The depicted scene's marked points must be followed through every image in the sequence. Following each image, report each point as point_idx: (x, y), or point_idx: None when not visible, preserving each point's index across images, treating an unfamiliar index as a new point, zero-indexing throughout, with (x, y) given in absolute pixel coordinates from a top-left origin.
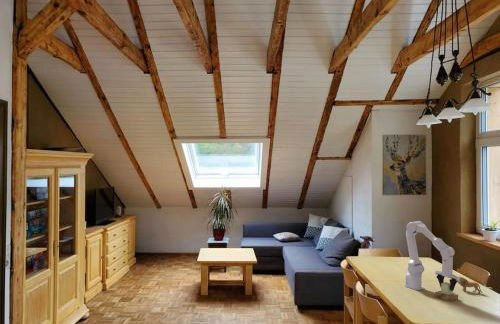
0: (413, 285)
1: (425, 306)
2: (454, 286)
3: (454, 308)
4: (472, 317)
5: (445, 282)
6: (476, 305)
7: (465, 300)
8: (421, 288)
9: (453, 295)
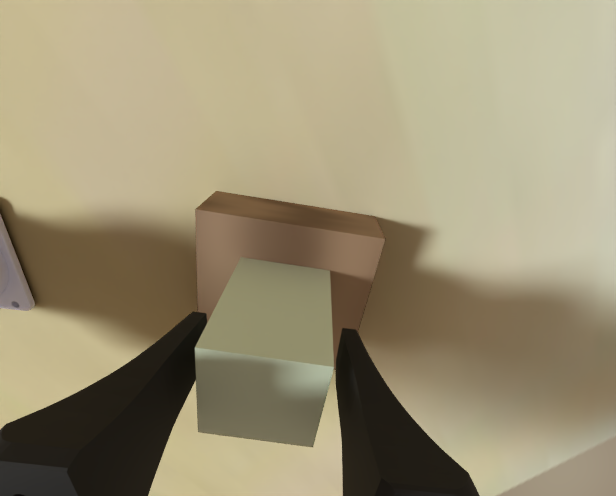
0: None
1: (290, 478)
2: (376, 376)
3: (423, 408)
4: (552, 447)
5: (210, 375)
6: (565, 228)
7: (441, 177)
8: (3, 247)
9: (358, 306)
